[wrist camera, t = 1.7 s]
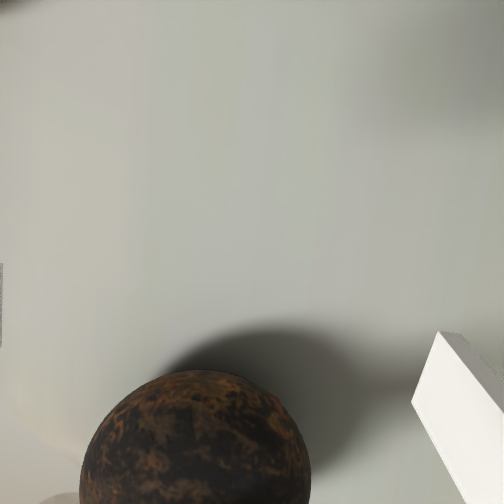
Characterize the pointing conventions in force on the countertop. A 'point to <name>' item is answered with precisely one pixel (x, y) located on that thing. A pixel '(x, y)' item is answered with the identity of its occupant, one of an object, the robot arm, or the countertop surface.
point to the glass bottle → (197, 446)
